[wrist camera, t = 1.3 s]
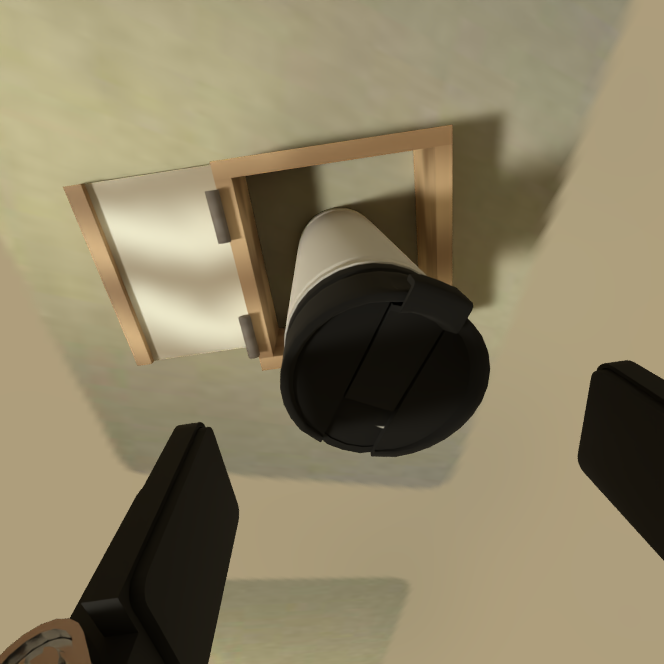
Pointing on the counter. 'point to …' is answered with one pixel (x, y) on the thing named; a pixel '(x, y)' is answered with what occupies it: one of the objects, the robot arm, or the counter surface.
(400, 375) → the travel mug
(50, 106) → the counter surface
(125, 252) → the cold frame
